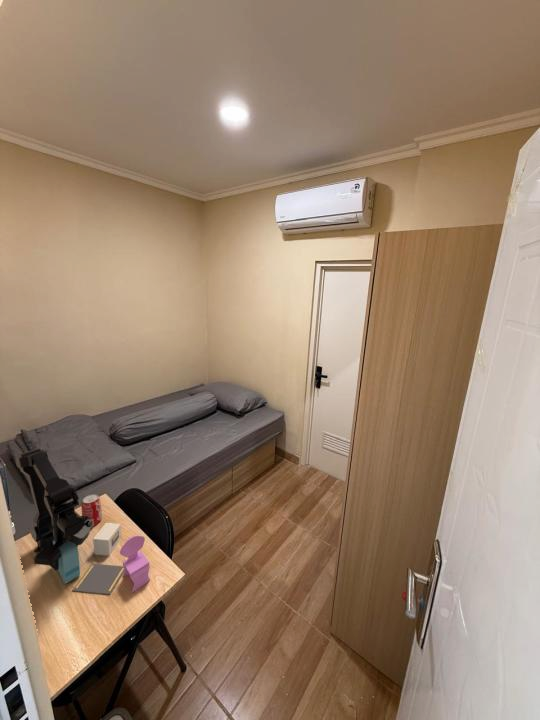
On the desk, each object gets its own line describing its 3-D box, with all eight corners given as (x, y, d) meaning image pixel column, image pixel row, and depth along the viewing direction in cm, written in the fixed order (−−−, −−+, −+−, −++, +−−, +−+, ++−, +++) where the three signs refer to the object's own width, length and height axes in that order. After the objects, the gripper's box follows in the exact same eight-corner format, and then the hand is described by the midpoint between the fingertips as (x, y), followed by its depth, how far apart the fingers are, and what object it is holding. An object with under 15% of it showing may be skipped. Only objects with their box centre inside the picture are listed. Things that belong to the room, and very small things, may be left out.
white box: (94, 554, 109) (92, 538, 107) (107, 537, 117) (105, 522, 115) (110, 555, 108) (109, 540, 107) (122, 538, 116) (121, 524, 115)
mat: (72, 591, 95) (72, 590, 95) (92, 564, 105) (92, 563, 105) (110, 594, 94) (110, 593, 94) (126, 567, 104) (126, 566, 104)
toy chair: (129, 596, 94) (126, 558, 91) (119, 578, 100) (116, 541, 97) (153, 579, 100) (152, 543, 97) (143, 563, 106) (141, 528, 103)
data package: (80, 577, 100) (78, 548, 98) (65, 586, 96) (62, 556, 94) (69, 557, 107) (67, 529, 105) (55, 564, 104) (52, 536, 102)
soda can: (100, 514, 129) (98, 490, 126) (104, 523, 124) (102, 499, 121) (81, 521, 124) (79, 497, 122) (85, 531, 119) (82, 506, 117)
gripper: (63, 544, 88) (68, 586, 92) (102, 503, 107) (105, 539, 110) (29, 541, 89) (35, 582, 92) (73, 501, 107) (77, 536, 110)
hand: (66, 558), depth 101 cm, fingers closed on data package, 9 cm apart
